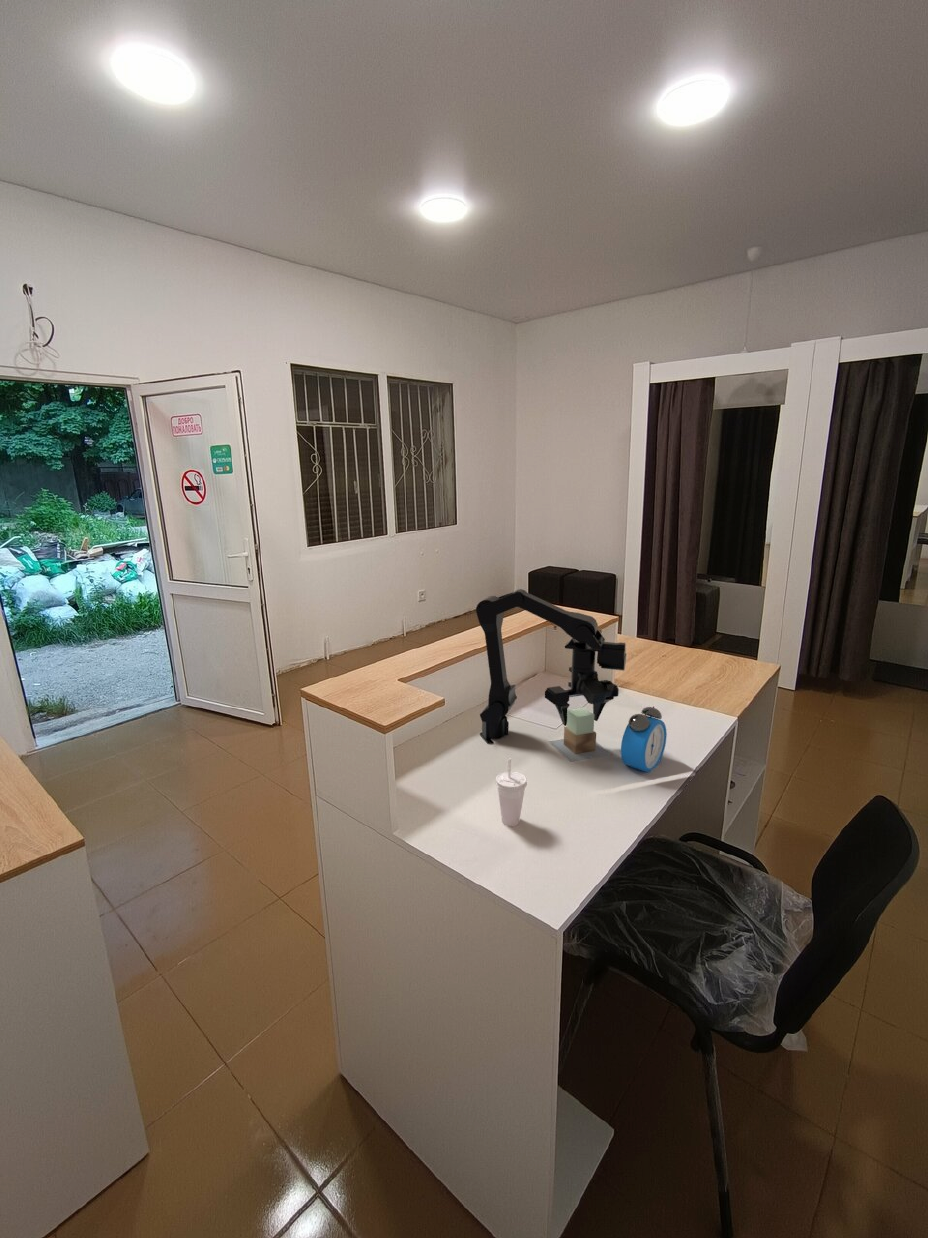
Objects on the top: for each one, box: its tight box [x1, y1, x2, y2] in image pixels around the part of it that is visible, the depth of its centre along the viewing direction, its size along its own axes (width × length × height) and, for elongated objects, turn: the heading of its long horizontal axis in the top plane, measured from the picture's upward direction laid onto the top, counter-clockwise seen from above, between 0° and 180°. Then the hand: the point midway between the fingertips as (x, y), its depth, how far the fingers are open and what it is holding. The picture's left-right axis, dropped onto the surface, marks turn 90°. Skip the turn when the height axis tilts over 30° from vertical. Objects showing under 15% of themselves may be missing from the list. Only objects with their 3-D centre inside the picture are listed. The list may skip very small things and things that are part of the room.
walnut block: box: [563, 726, 597, 754], centre depth 148 cm, size 6×6×5 cm
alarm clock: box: [620, 706, 668, 773], centre depth 138 cm, size 13×6×15 cm, turn 137°
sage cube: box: [566, 707, 595, 735], centre depth 147 cm, size 5×5×5 cm
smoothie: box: [495, 757, 528, 827], centre depth 116 cm, size 6×6×14 cm
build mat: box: [548, 738, 612, 762], centre depth 149 cm, size 12×12×1 cm
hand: (580, 722), depth 147 cm, fingers open, 9 cm apart
